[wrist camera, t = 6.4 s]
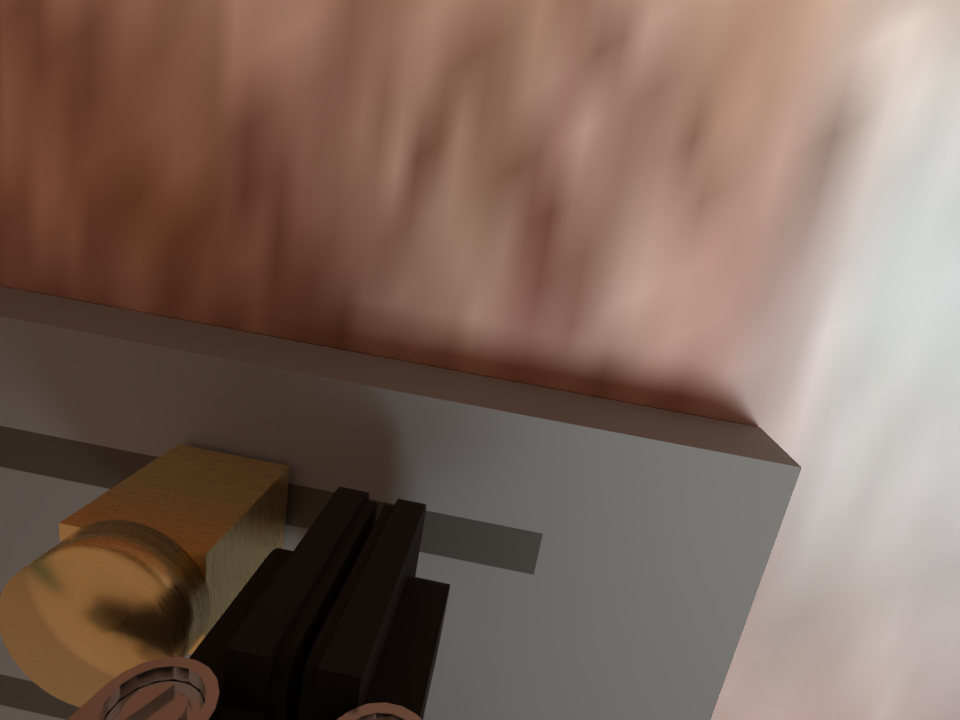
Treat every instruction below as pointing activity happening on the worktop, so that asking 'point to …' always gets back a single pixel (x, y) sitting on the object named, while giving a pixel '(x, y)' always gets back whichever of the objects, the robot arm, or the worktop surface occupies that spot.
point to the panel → (421, 498)
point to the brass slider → (143, 569)
